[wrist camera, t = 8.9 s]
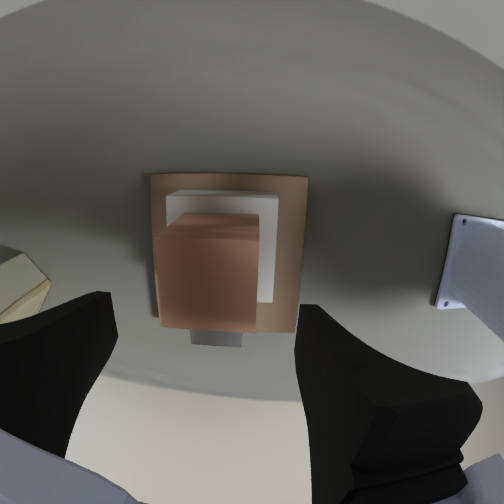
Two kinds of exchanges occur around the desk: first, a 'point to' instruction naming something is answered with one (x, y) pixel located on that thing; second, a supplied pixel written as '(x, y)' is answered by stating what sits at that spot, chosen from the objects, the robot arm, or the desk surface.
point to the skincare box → (21, 289)
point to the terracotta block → (209, 272)
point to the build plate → (283, 242)
